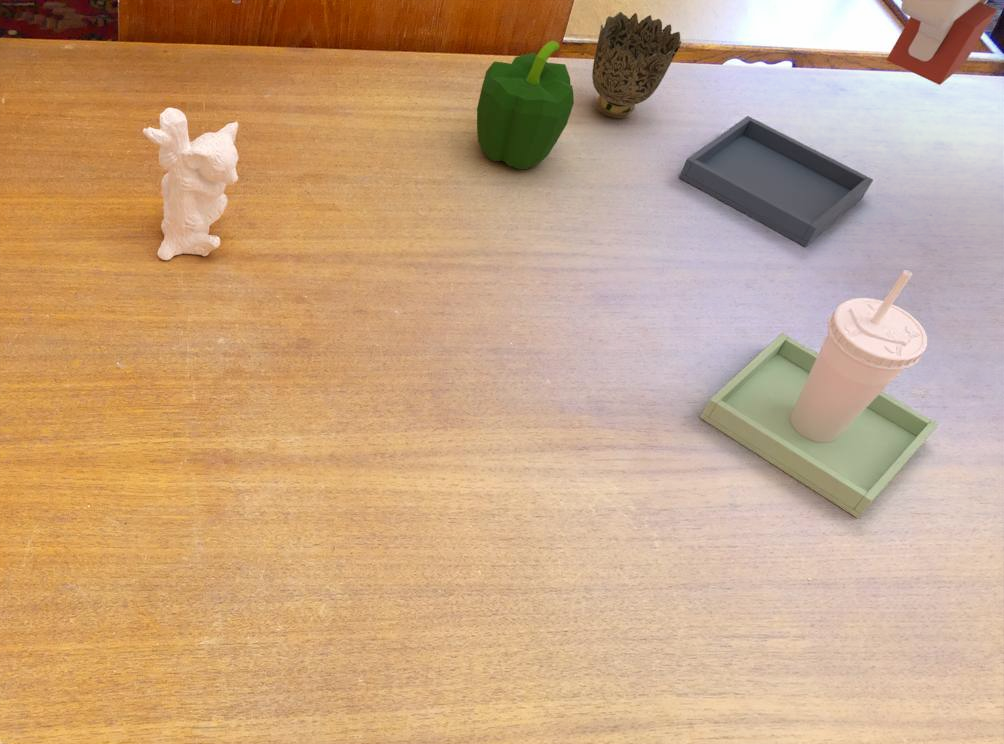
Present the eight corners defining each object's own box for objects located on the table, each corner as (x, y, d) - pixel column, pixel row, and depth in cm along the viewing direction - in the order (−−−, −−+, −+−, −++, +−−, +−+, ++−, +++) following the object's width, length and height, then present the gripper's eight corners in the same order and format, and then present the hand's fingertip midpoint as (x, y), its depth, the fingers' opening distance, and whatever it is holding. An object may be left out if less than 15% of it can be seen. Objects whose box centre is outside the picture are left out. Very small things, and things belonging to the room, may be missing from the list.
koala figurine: (159, 278, 90) (159, 145, 80) (125, 230, 93) (121, 96, 83) (251, 252, 92) (263, 121, 83) (215, 206, 96) (222, 75, 86)
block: (963, 66, 87) (998, 9, 84) (939, 85, 85) (975, 28, 82) (909, 41, 89) (942, -15, 85) (885, 60, 87) (917, 3, 83)
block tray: (862, 198, 103) (873, 179, 102) (805, 247, 98) (816, 228, 97) (739, 134, 108) (747, 115, 107) (678, 177, 103) (686, 158, 102)
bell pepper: (503, 189, 100) (534, 86, 92) (450, 141, 104) (475, 37, 96) (574, 167, 103) (610, 64, 95) (520, 120, 107) (549, 18, 99)
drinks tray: (924, 442, 85) (939, 424, 83) (857, 518, 79) (872, 500, 78) (771, 351, 90) (782, 332, 88) (699, 417, 84) (709, 399, 83)
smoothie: (798, 382, 87) (893, 233, 76) (872, 427, 84) (982, 281, 73) (756, 421, 84) (848, 272, 73) (832, 469, 81) (940, 323, 70)
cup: (595, 81, 112) (622, 2, 106) (662, 109, 110) (694, 30, 104) (563, 112, 109) (588, 32, 102) (632, 141, 106) (662, 62, 100)
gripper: (1043, -98, 69) (918, 108, 80) (1149, -174, 78) (1024, 19, 89) (947, -135, 71) (839, 70, 82) (1061, -205, 81) (950, -13, 92)
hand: (936, 42), depth 86 cm, fingers closed on block, 4 cm apart
